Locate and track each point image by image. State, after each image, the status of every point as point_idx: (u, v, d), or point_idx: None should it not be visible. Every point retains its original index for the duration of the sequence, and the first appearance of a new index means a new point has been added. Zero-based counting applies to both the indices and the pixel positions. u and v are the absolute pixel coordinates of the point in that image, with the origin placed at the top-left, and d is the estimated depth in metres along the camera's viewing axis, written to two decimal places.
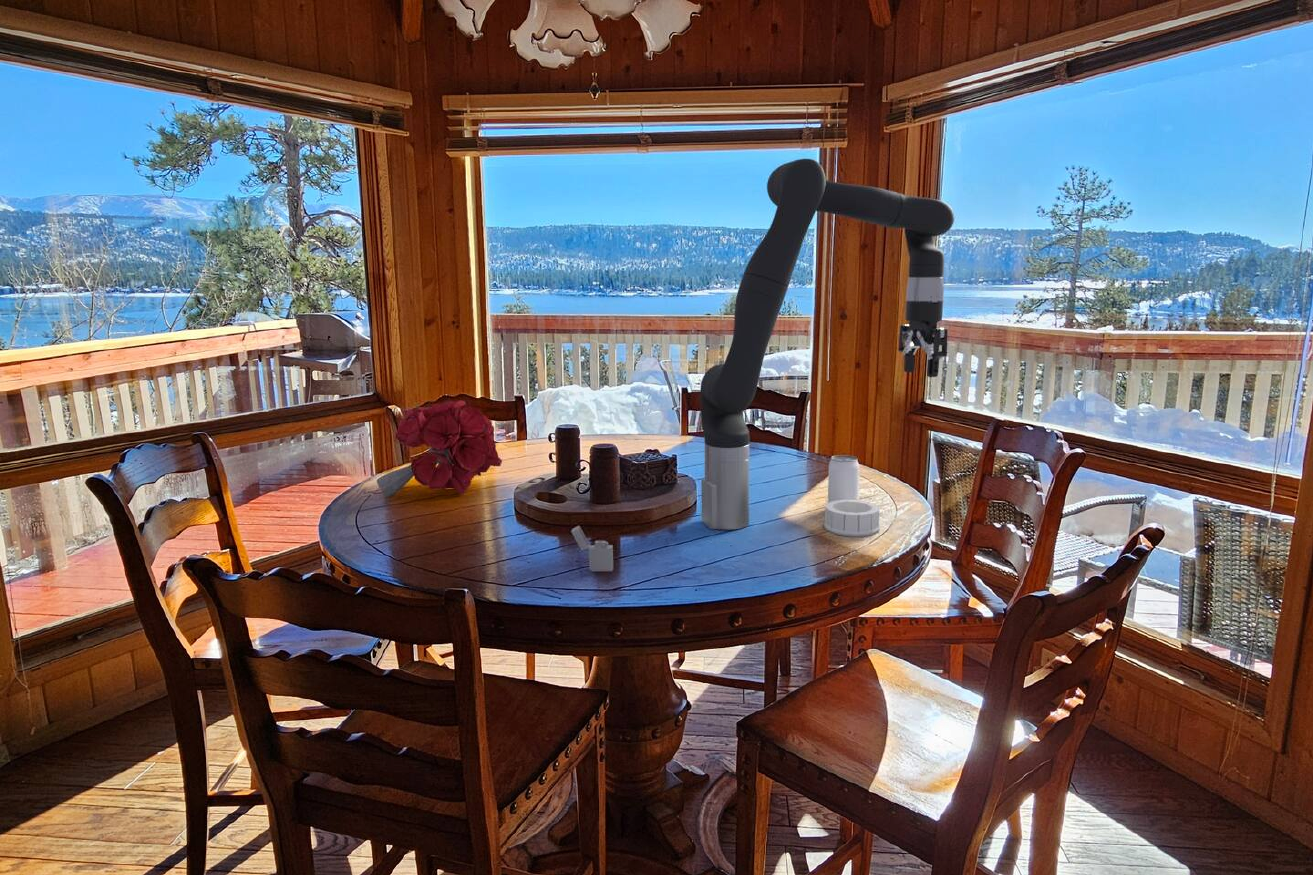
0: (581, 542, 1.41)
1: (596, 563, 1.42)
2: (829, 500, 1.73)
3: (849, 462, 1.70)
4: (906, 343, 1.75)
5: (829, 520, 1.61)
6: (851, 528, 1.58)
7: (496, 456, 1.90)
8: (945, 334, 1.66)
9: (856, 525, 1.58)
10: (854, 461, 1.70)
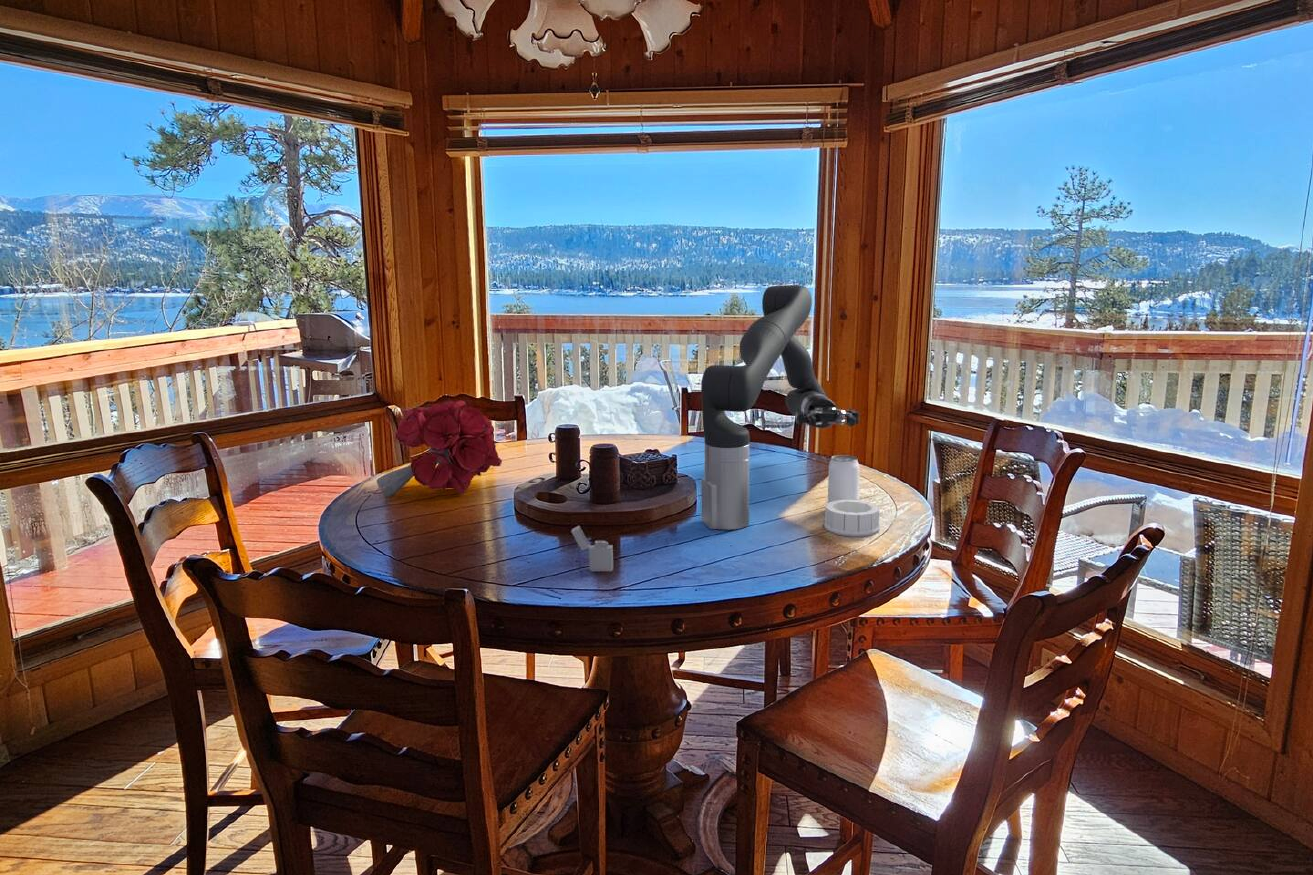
0: (581, 542, 1.41)
1: (596, 563, 1.42)
2: (829, 500, 1.73)
3: (849, 462, 1.70)
4: (813, 410, 1.88)
5: (829, 520, 1.61)
6: (851, 528, 1.58)
7: (495, 456, 1.90)
8: None
9: (856, 525, 1.58)
10: (854, 461, 1.70)
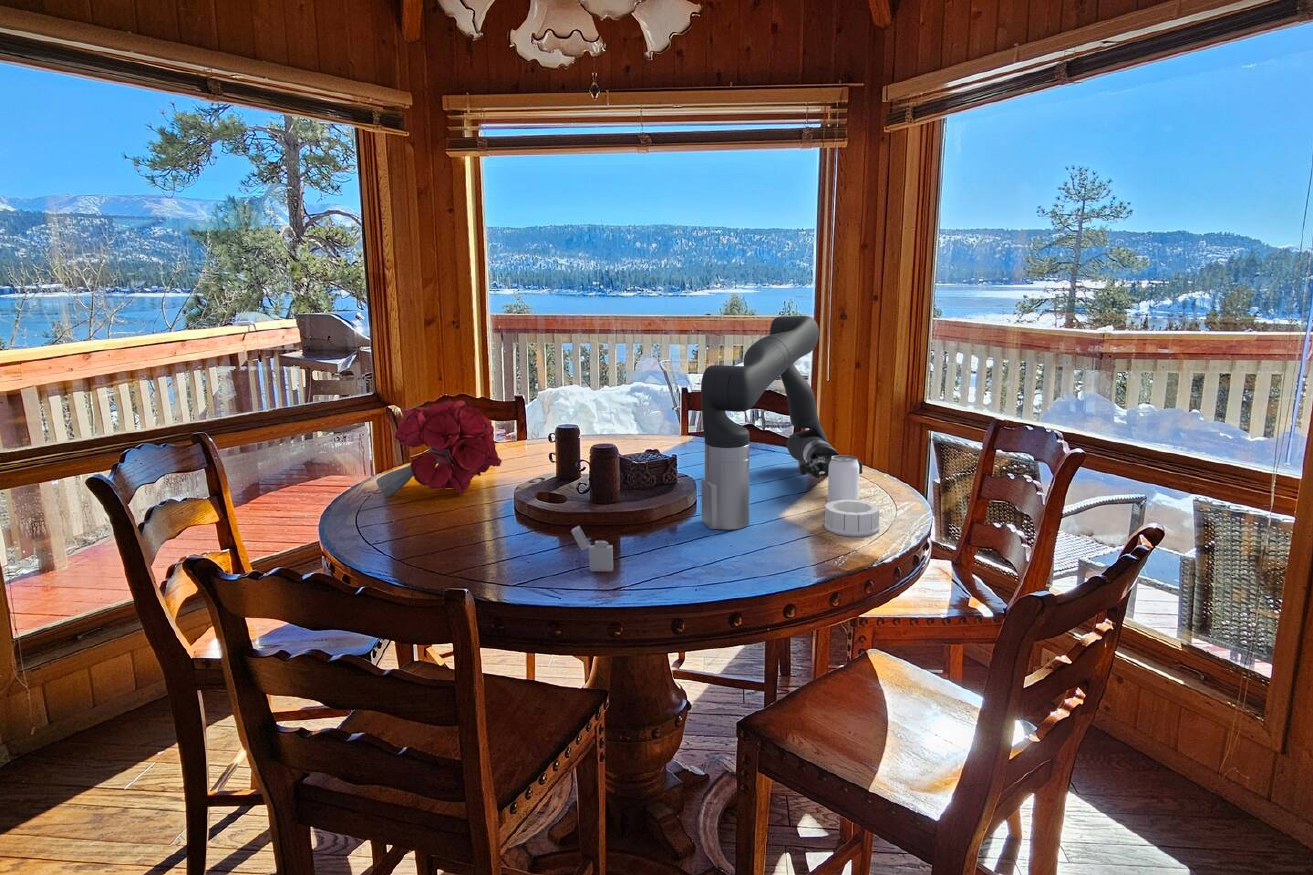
0: (581, 542, 1.41)
1: (596, 563, 1.42)
2: (829, 500, 1.73)
3: (849, 462, 1.70)
4: (816, 460, 1.85)
5: (829, 520, 1.61)
6: (851, 528, 1.58)
7: (495, 456, 1.90)
8: None
9: (856, 525, 1.58)
10: (854, 461, 1.70)
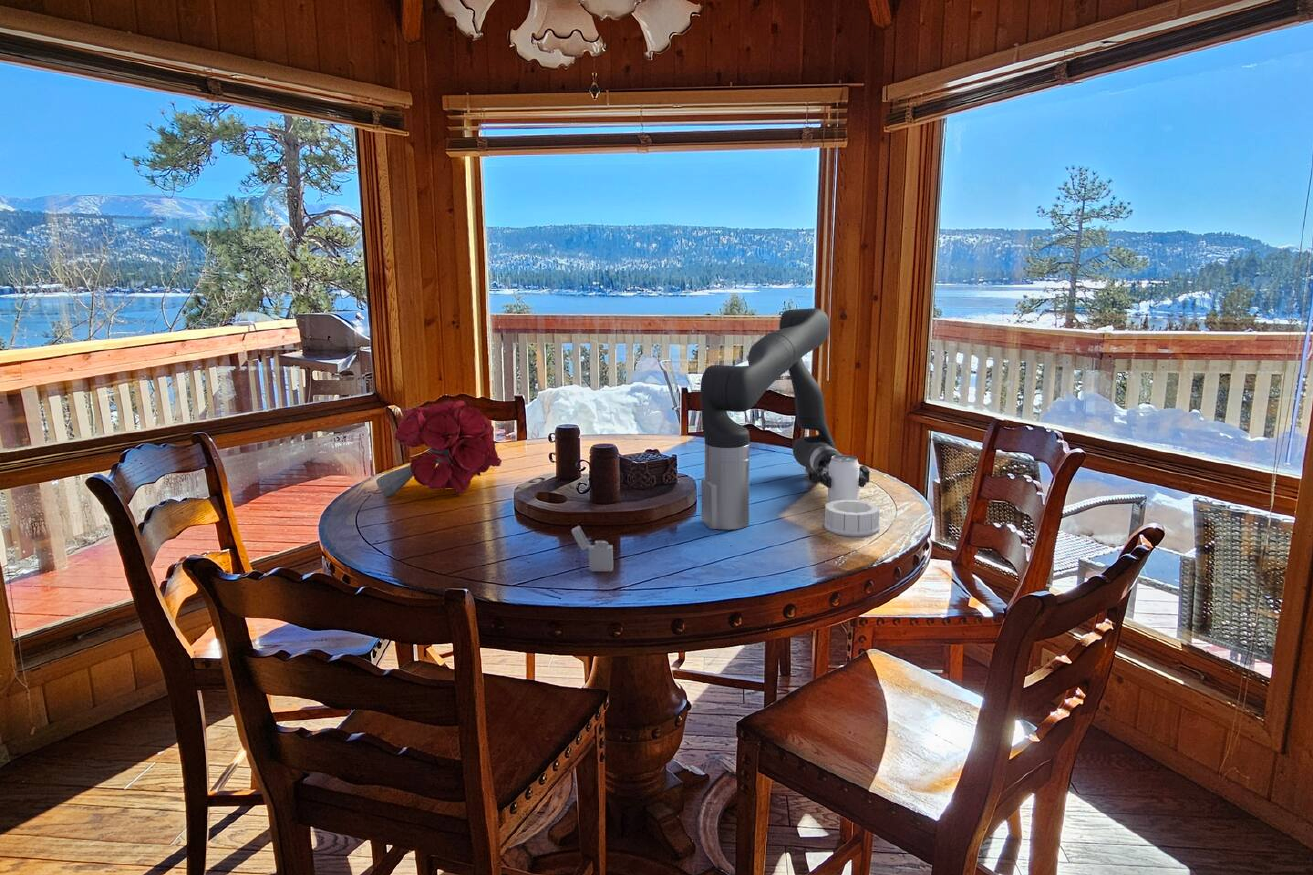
0: (581, 542, 1.41)
1: (596, 563, 1.42)
2: (829, 500, 1.73)
3: (849, 462, 1.70)
4: (826, 468, 1.77)
5: (829, 520, 1.61)
6: (851, 528, 1.58)
7: (495, 456, 1.90)
8: None
9: (856, 525, 1.58)
10: (854, 461, 1.70)
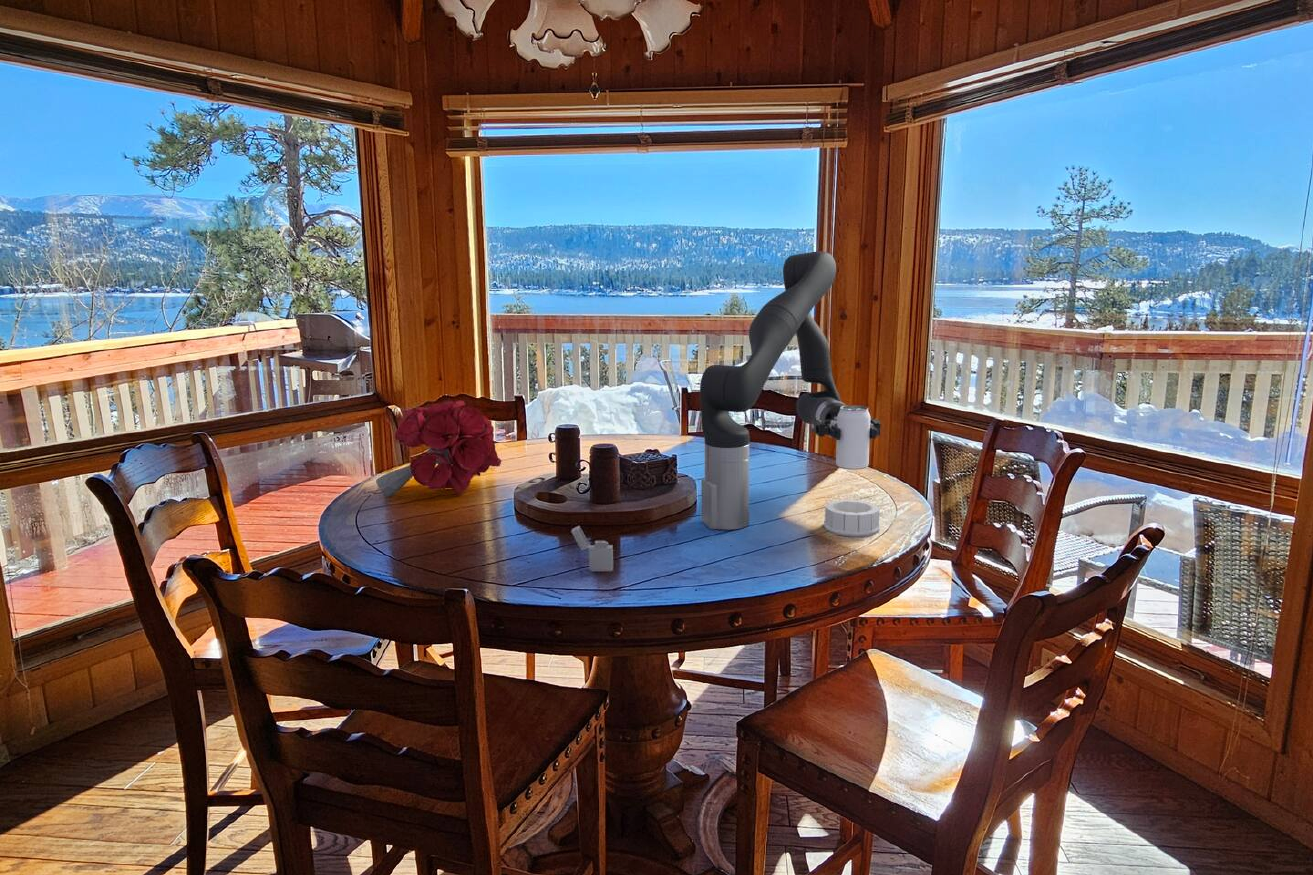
0: (581, 542, 1.41)
1: (596, 563, 1.42)
2: (838, 454, 1.61)
3: (860, 412, 1.57)
4: (833, 420, 1.65)
5: (829, 520, 1.61)
6: (851, 528, 1.58)
7: (495, 456, 1.90)
8: None
9: (856, 525, 1.58)
10: (865, 411, 1.58)
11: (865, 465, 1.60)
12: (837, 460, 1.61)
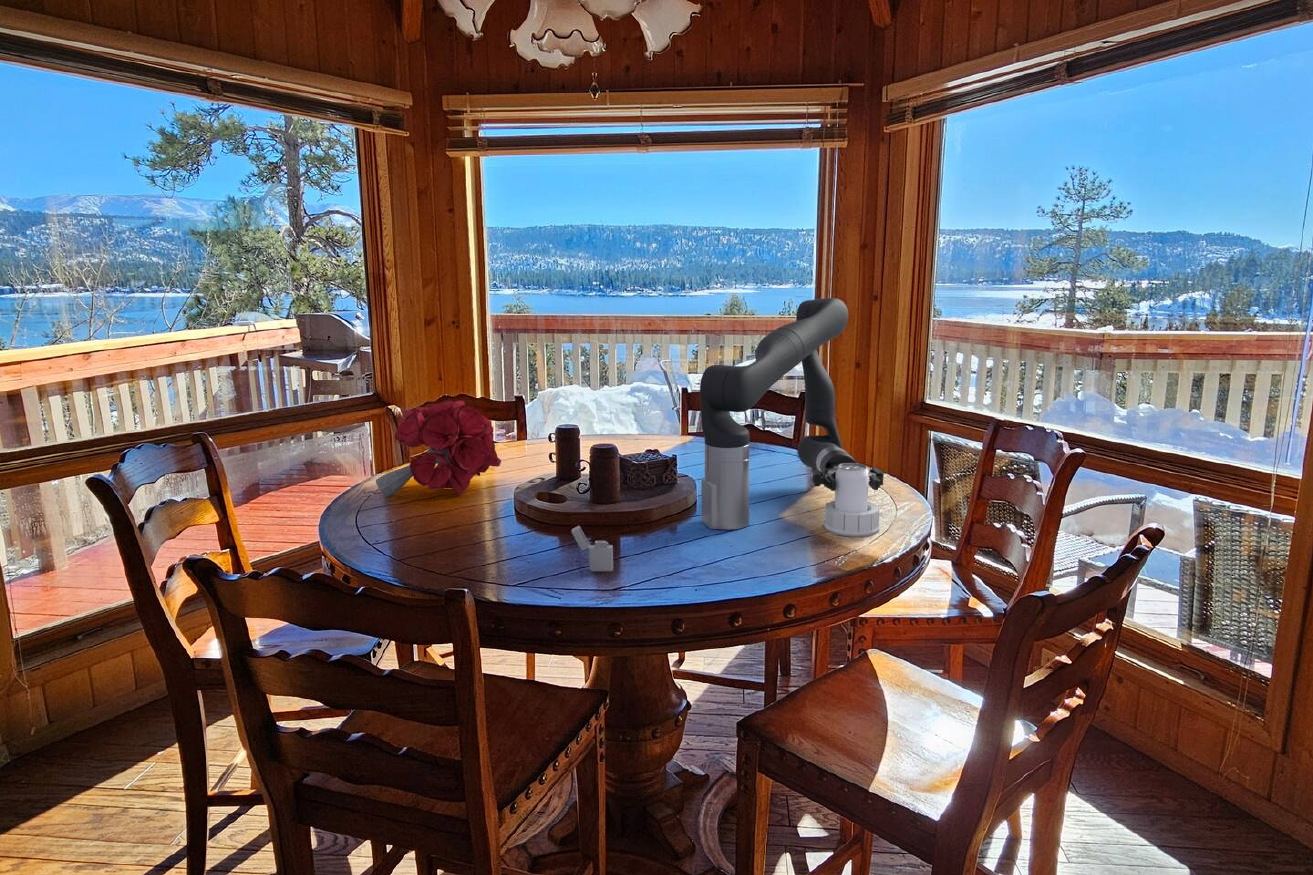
0: (581, 542, 1.41)
1: (596, 563, 1.42)
2: None
3: (857, 471, 1.58)
4: (831, 469, 1.65)
5: (829, 520, 1.61)
6: (851, 528, 1.58)
7: (495, 456, 1.90)
8: None
9: (856, 525, 1.58)
10: (863, 470, 1.59)
11: None
12: None
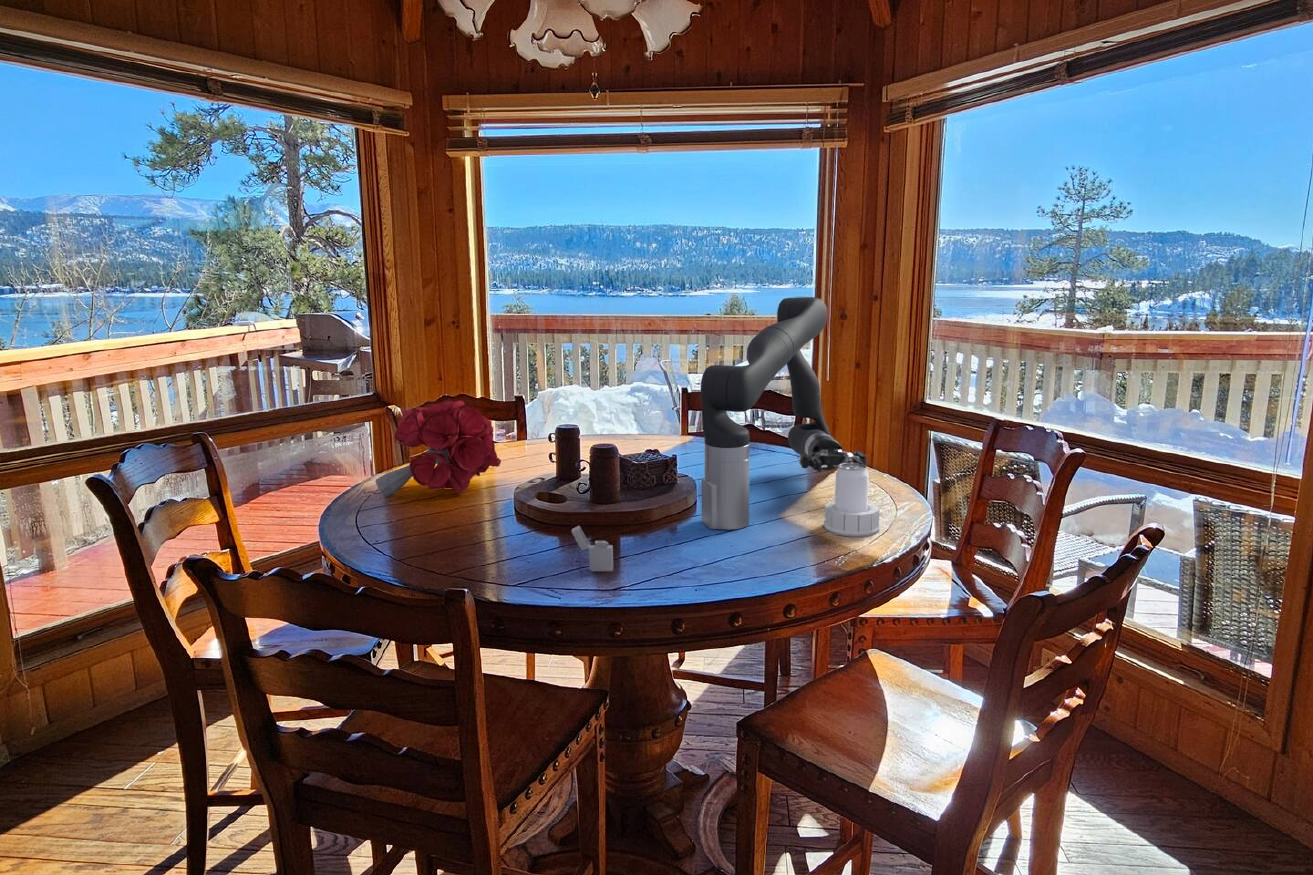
0: (581, 542, 1.41)
1: (596, 563, 1.42)
2: None
3: (858, 471, 1.58)
4: (818, 453, 1.78)
5: (829, 520, 1.61)
6: (851, 528, 1.58)
7: (494, 456, 1.90)
8: None
9: (856, 525, 1.58)
10: (863, 470, 1.59)
11: None
12: None
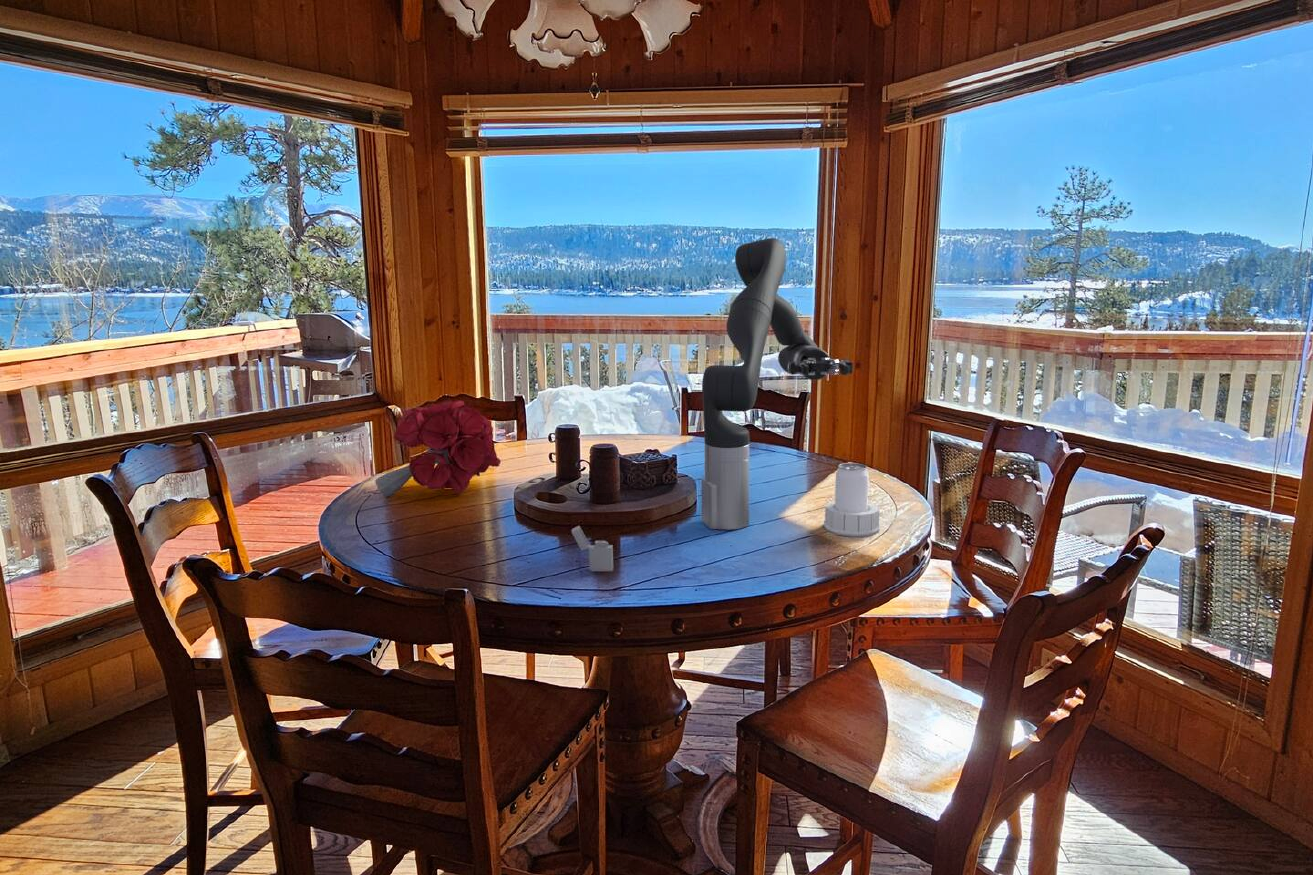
0: (581, 542, 1.41)
1: (596, 563, 1.42)
2: None
3: (858, 471, 1.58)
4: (805, 360, 1.82)
5: (829, 520, 1.61)
6: (851, 528, 1.58)
7: (494, 456, 1.90)
8: None
9: (856, 525, 1.58)
10: (863, 470, 1.59)
11: None
12: None
